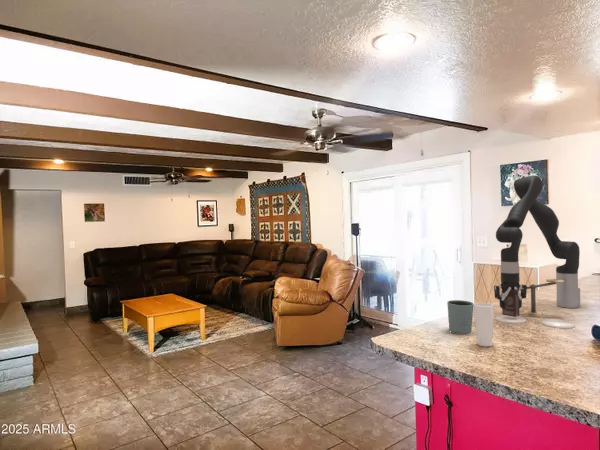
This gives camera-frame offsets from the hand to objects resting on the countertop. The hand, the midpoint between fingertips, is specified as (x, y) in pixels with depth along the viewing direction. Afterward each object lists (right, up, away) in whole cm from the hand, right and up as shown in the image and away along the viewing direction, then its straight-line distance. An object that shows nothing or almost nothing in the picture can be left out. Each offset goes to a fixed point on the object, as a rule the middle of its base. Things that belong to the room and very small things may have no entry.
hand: (510, 308), depth 179 cm
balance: (+15, -5, +8) cm, 17 cm away
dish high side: (+16, -5, -9) cm, 19 cm away
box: (0, -4, 0) cm, 4 cm away
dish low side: (0, -6, 0) cm, 6 cm away
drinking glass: (-27, -7, -33) cm, 43 cm away
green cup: (-28, -7, -15) cm, 33 cm away
